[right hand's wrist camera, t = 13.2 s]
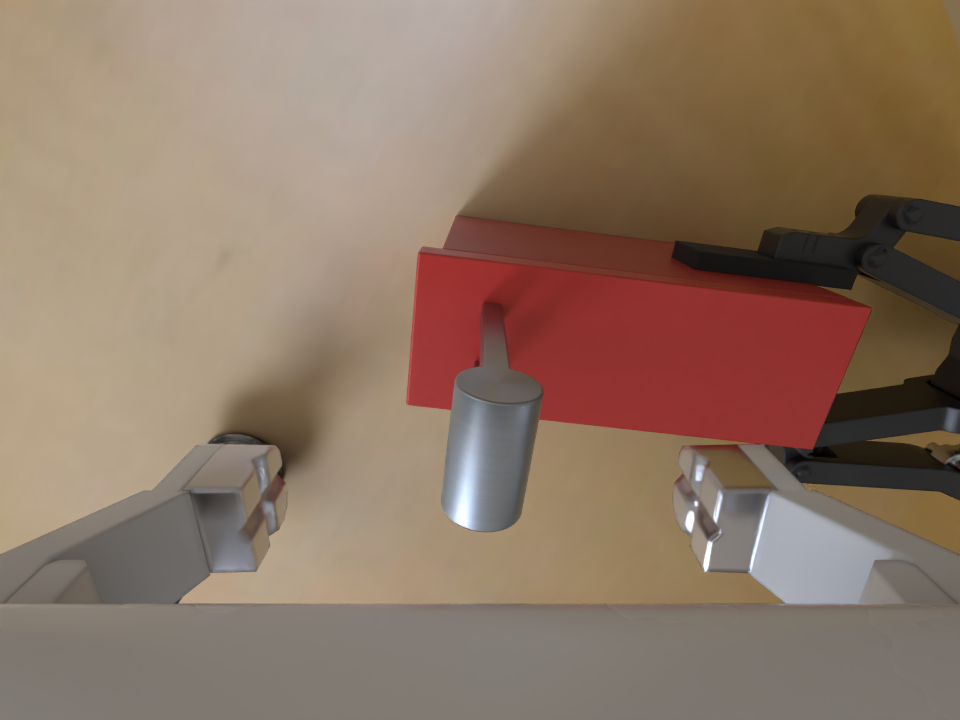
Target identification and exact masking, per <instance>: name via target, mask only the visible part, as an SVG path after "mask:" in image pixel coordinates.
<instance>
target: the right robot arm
mask: <svg viewBox="0 0 960 720" xmlns="http://www.w3.org/2000/svg"><path fill="white" fill-rule="evenodd" d="M281 466H282V459H281V454H280V450H279V449H278V448H277V447H276V446H275V445H241V444H227V445H225V444H201V445H196V446H195V447H194V448H193V449H192V450H191V451H190V452H189V453H188V454H187V455H186V456H185V457H184V458H183V459H182V460H181V461H180V462H179V464H178V465H177V466H176V467H175V468H174V469H173V470H172V471H171V472H170V473H169V474H168V475H167V476H166V477H165V478H164V479H163V480H162V481H161V482H160V483H159V484H158V485H157V486H156V487H155V488H154V489H153V490H152V491H142V492H139V493H137V494H135V495H133V496H130V497H128V498H126V499H124V500H121V501H119V502H117V503H115V504H113V505H110V506H108V507H106V508H104V509H101V510H99V511H97V512H95V513H92V514H90V515H88V516H86V517H83V518H81V519H79V520H77V521H74V522H72V523H70V524H68V525H65V526H63V527H61V528H59V529H56V530H54V531H52V532H50V533H48V534H45V535H43V536H41V537H39V538H36V539H34V540H32V541H30V542H27V543H25V544H23V545H21V546H18V547H16V548H14V549H12V550H9V551H7V552H5V553H3V554H0V720H960V555H959V554H957V553H955V552H952V551H950V550H948V549H946V548H943V547H941V546H939V545H937V544H935V543H932V542H930V541H928V540H926V539H923V538H921V537H919V536H917V535H914V534H912V533H910V532H908V531H906V530H903V529H901V528H899V527H897V526H894V525H892V524H890V523H888V522H885V521H883V520H881V519H879V518H876V517H874V516H872V515H870V514H868V513H865V512H863V511H861V510H859V509H856V508H854V507H852V506H850V505H847V504H845V503H843V502H841V501H838V500H836V499H834V498H832V497H830V496H827V495H825V494H823V493H821V492H818V491H808V490H807V489H806V488H805V487H804V486H803V485H802V484H801V483H800V482H799V481H798V480H797V479H796V478H795V477H794V476H793V475H792V474H791V473H790V472H789V471H788V470H787V468H786V467H785V466H784V465H783V464H782V463H781V462H780V461H779V460H778V459H777V458H776V457H775V456H774V455H773V454H772V453H771V452H770V451H769V450H768V449H767V448H766V447H765V446H763V445H760V444H737V445H698V446H683V447H682V449H681V451H680V453H679V458H678V466H679V467H680V469H681V471H682V472H683V474H682V475H681V477H680V478H679V479H678V480H677V481H676V482H675V483H674V489H673V496H672V498H673V510H674V514H675V517H676V521H677V523H678V525H679V527H680V528H681V530H682V531H684V532H685V533H687V534H688V535H690V536H691V542H690V547H691V549H692V551H693V553H694V555H695V556H696V558H697V560H698V562H699V564H700V566H701V567H702V569H703V571H704V572H735V573H750V576H752V577H753V578H754V579H756V580H757V581H758V582H759V583H761V584H762V585H763V586H764V587H766V588H767V589H768V590H770V591H771V592H772V593H773V594H775V595H776V596H777V597H778V598H780V599H781V600H782V601H784V602H785V603H786V604H174V603H175V602H177V601H178V600H179V599H180V598H182V597H183V596H184V595H186V594H187V593H188V592H189V591H191V590H192V589H193V588H194V587H196V586H197V585H198V584H200V583H201V582H202V581H203V580H205V579H206V578H207V577H208V576H210V573H225V572H256V571H257V569H258V568H259V566H260V564H261V562H262V560H263V558H264V556H265V555H266V553H267V551H268V549H269V547H270V542H269V536H270V535H272V534H273V533H275V532H276V531H278V530H279V528H280V526H281V524H282V522H283V520H284V518H285V513H286V509H287V488H286V483H285V482H284V481H283V480H282V479H281V478H280V477H279V476H278V474H277V472H278V471H279V469H280V467H281Z"/></svg>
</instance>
